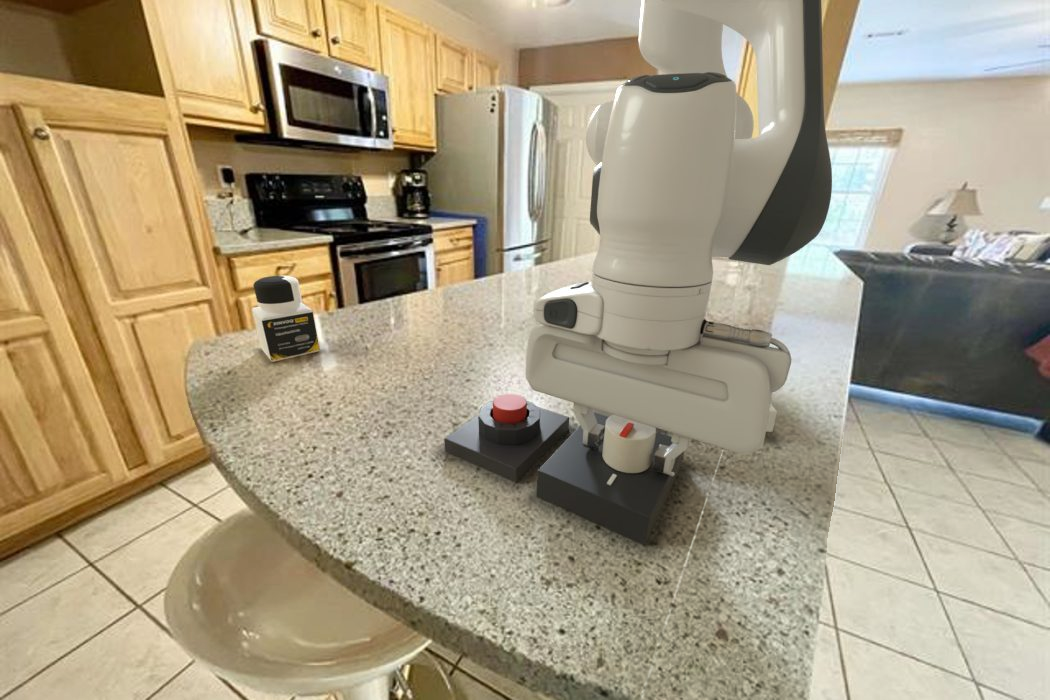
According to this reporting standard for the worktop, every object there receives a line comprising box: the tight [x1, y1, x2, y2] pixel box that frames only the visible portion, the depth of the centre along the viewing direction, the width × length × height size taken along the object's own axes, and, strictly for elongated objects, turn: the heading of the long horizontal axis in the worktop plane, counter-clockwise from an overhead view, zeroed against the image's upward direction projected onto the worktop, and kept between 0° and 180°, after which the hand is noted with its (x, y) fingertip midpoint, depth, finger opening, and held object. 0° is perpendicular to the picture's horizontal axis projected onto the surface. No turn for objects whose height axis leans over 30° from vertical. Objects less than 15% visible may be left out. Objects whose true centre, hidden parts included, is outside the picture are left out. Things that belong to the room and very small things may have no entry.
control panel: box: [536, 412, 685, 546], centre depth 40 cm, size 12×10×3 cm
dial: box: [602, 415, 657, 473], centre depth 38 cm, size 4×4×4 cm
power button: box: [492, 393, 528, 424], centre depth 45 cm, size 4×4×2 cm
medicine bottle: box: [251, 275, 321, 363], centre depth 66 cm, size 7×7×12 cm
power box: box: [443, 400, 570, 484], centre depth 45 cm, size 11×9×4 cm
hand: (626, 455), depth 38 cm, fingers open, 5 cm apart
